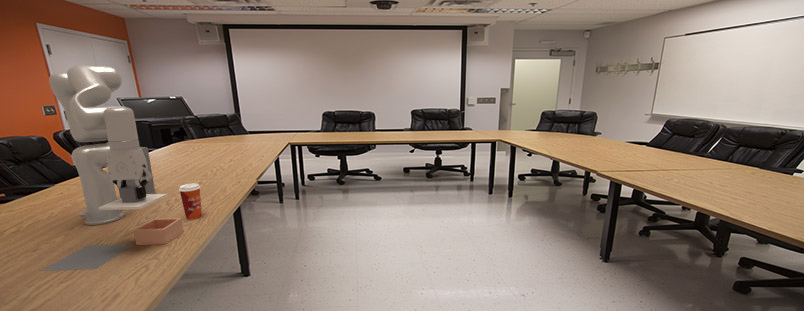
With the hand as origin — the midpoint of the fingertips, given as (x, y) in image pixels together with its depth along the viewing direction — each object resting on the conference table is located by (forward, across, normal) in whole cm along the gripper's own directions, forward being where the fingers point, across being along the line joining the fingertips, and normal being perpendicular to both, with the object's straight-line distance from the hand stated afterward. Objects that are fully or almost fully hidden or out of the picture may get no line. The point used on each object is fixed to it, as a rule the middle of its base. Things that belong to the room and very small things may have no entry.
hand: (134, 197), depth 110 cm
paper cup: (+18, +3, +25) cm, 30 cm away
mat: (+17, -10, -9) cm, 22 cm away
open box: (+17, +4, +4) cm, 18 cm away
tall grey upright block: (+18, -38, +49) cm, 65 cm away
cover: (+2, 0, 0) cm, 2 cm away
